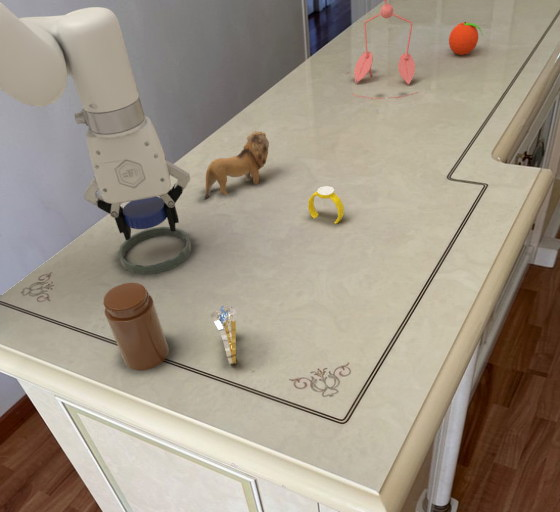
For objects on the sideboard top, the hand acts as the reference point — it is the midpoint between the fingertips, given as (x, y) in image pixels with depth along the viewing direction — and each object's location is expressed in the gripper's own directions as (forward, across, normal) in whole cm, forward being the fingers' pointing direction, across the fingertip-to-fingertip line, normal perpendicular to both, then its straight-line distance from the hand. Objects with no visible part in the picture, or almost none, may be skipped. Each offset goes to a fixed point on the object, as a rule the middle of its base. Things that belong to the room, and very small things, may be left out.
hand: (150, 230), depth 92 cm
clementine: (+6, +77, +67) cm, 102 cm away
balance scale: (+6, +52, +55) cm, 76 cm away
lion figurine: (+5, +15, +18) cm, 24 cm away
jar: (+5, -2, -24) cm, 25 cm away
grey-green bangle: (+5, 0, 0) cm, 5 cm away
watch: (+5, +28, +1) cm, 29 cm away
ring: (+5, +10, -27) cm, 29 cm away
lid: (-4, 0, 0) cm, 4 cm away
